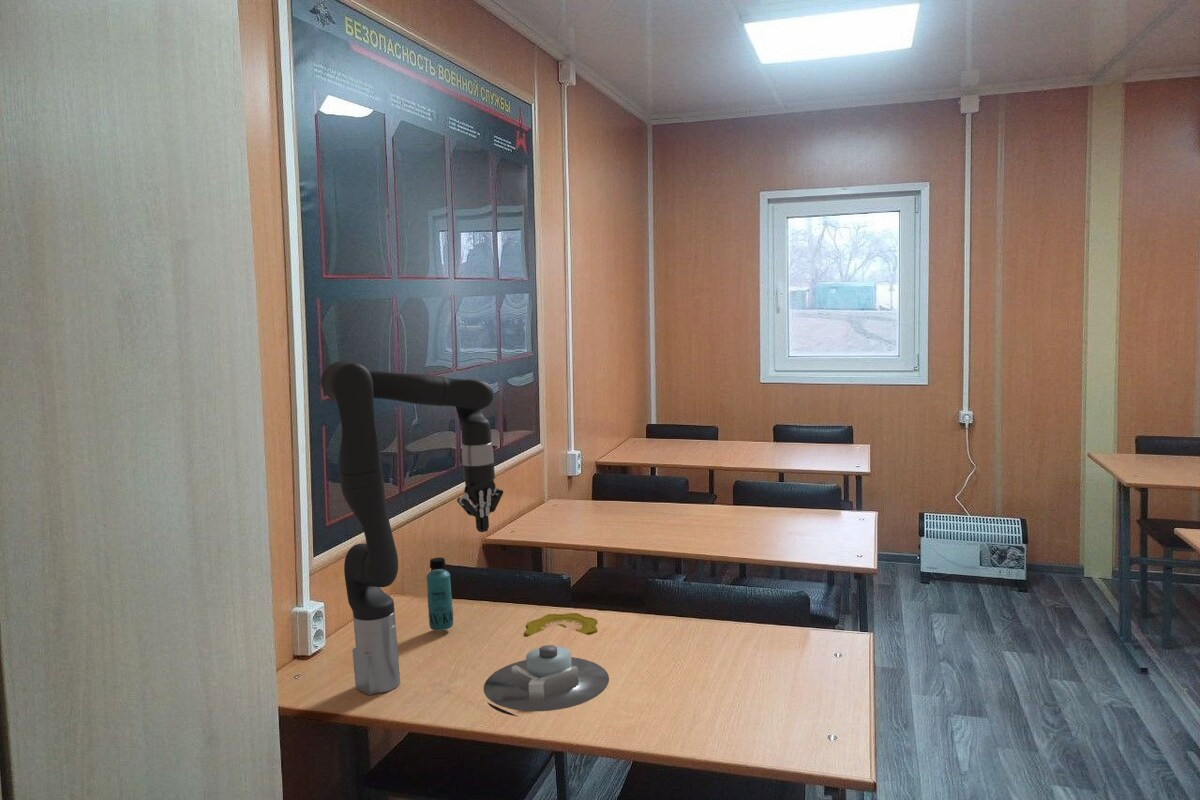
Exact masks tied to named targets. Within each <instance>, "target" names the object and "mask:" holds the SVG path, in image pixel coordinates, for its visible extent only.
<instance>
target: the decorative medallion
mask: <svg viewBox="0 0 1200 800" xmlns="http://www.w3.org/2000/svg"><path fill="white" fill-rule="evenodd" d="M559 621H560V622H562V623H559ZM564 621H565V622H564ZM563 622H564V623H572V622H573V623H574V624H577V627H578V628H575V629H574V631H575V632H578V633H581V634H584V635H587V636H590V635H593V634H596V633H598V628H597V625H598V623H599V622H598V619H597V618H594V617H588V616H584V615H582V614H581V613H578V612H569V613H563V614H562V613H561V614H560V613H548V614H545V615H543V616H542V617H540V618H538V619H534V620H531V621H528V622H527V623H526V626H525V627H526V630H524V633H523V636H524V637H526V638H527V637H530V636H532V635H535V634H538V633H541V632H542V631H544V629H545V630H546V629H548V627H549V626H550V625H551V624H554V623H559V624H557V626H559V627H562V628H566V627H567V626H566V625H565V624H564V623H563ZM580 626H581V627H580Z"/></svg>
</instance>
